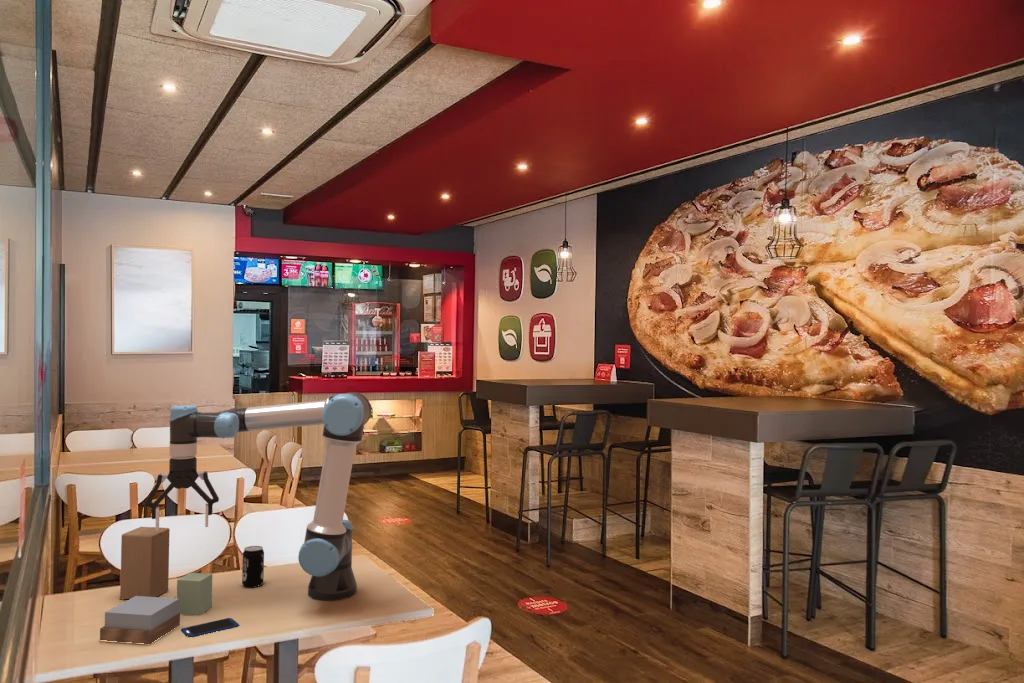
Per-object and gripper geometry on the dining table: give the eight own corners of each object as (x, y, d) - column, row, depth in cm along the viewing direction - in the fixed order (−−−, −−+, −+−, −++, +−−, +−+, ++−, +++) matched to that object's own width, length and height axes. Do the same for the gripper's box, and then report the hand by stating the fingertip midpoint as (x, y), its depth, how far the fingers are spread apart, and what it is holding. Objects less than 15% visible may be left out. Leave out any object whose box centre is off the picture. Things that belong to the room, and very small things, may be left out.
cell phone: (179, 631, 204) (180, 628, 204) (231, 619, 213) (231, 617, 213) (188, 639, 199) (188, 636, 199) (240, 627, 208) (240, 624, 208)
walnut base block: (179, 627, 208) (180, 612, 208) (149, 647, 194) (150, 631, 194) (132, 624, 209) (133, 609, 209) (99, 643, 195) (100, 628, 195)
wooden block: (168, 590, 236) (170, 527, 236) (150, 601, 226) (151, 535, 226) (139, 589, 237) (140, 526, 237) (119, 599, 227) (120, 534, 227)
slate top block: (178, 613, 207) (179, 598, 207) (150, 630, 194) (150, 615, 194) (135, 610, 209) (135, 595, 209) (104, 627, 196) (104, 612, 196)
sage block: (211, 607, 222) (212, 573, 222) (199, 615, 215) (200, 581, 215) (189, 606, 223) (190, 572, 223) (176, 614, 216) (177, 579, 216)
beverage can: (259, 588, 240) (260, 551, 240) (238, 587, 240) (239, 550, 240) (266, 581, 246) (267, 545, 246) (246, 581, 246) (247, 545, 246)
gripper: (227, 453, 232) (226, 521, 232) (138, 457, 223) (137, 528, 223) (227, 456, 225) (226, 527, 225) (135, 460, 216) (134, 534, 216)
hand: (182, 527), depth 224 cm, fingers open, 13 cm apart
